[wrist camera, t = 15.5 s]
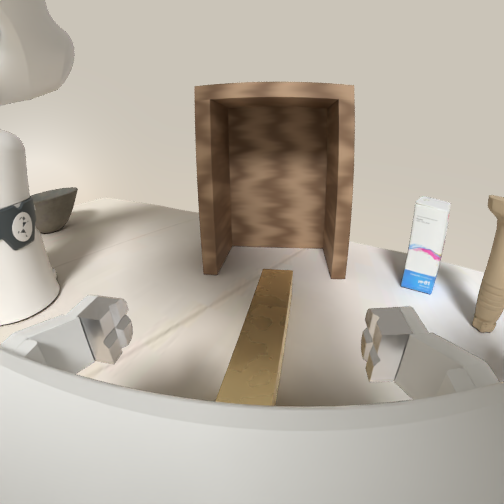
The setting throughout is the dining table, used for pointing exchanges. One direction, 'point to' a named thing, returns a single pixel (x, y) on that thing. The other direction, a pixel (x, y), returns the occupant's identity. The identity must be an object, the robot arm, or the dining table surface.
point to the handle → (492, 275)
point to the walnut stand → (275, 168)
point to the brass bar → (260, 344)
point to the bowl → (53, 208)
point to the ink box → (426, 244)
